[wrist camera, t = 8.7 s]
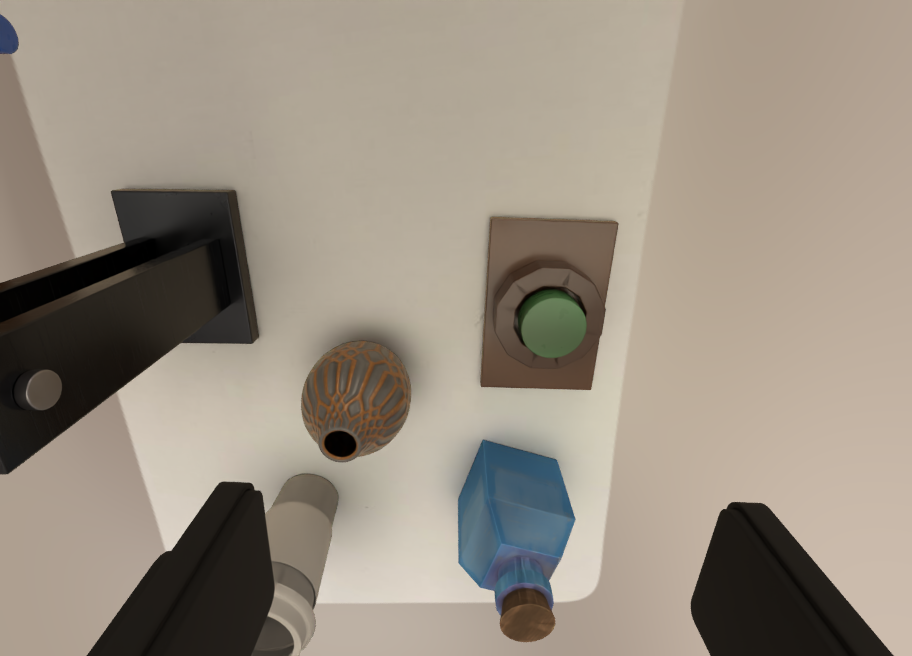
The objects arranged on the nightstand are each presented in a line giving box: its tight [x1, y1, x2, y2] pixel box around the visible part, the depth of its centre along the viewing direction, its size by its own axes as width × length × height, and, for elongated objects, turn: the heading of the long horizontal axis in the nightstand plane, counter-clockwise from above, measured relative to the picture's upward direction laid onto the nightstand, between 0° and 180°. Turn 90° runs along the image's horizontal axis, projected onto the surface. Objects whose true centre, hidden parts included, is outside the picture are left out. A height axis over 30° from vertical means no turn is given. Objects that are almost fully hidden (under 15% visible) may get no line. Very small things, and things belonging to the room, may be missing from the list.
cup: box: [251, 474, 338, 656], centre depth 33 cm, size 7×7×12 cm
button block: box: [480, 217, 618, 390], centre depth 31 cm, size 12×8×2 cm, turn 178°
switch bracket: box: [0, 189, 259, 474], centre depth 23 cm, size 10×7×18 cm
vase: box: [301, 341, 411, 462], centre depth 30 cm, size 7×7×9 cm
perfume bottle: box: [458, 440, 575, 642], centre depth 32 cm, size 6×6×12 cm
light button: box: [518, 289, 587, 358], centre depth 29 cm, size 4×4×2 cm
